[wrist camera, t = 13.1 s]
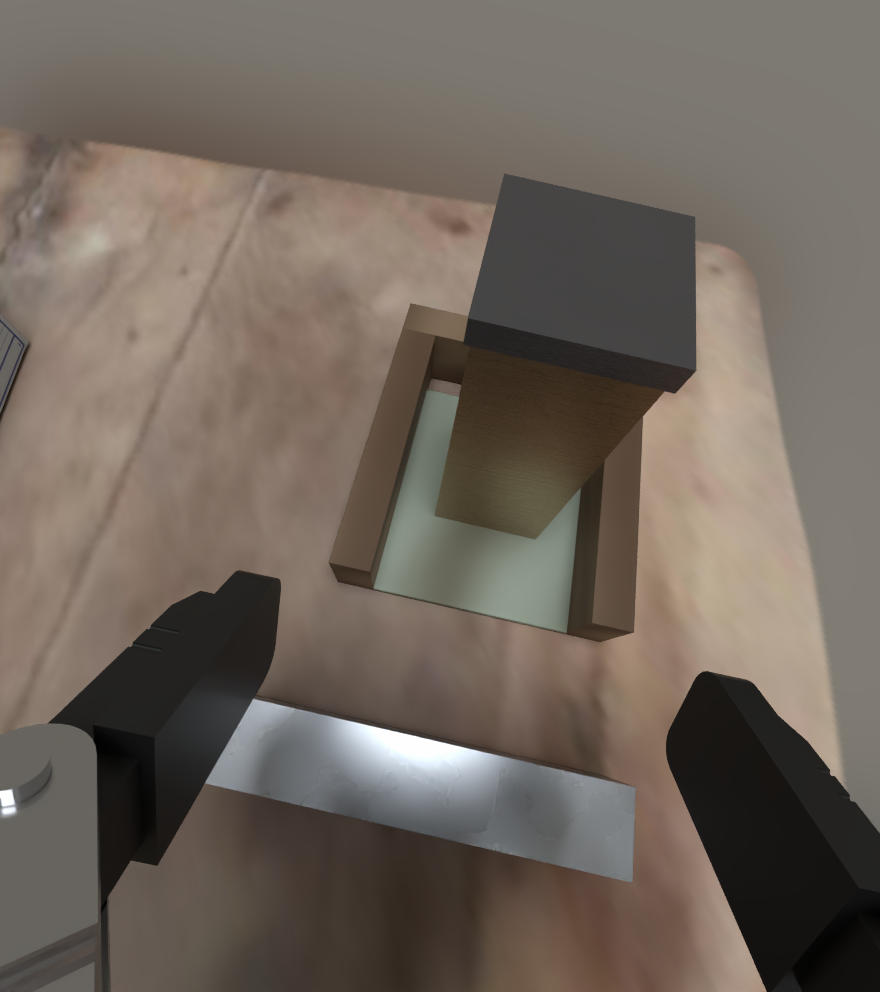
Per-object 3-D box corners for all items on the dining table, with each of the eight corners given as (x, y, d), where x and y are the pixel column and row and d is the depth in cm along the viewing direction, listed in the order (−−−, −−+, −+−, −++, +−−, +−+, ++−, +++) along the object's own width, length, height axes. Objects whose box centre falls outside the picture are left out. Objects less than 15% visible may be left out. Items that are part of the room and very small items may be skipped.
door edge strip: (207, 766, 17) (177, 776, 14) (235, 690, 18) (210, 688, 15) (599, 857, 16) (632, 882, 14) (604, 776, 17) (635, 787, 15)
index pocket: (338, 581, 19) (328, 562, 17) (408, 347, 24) (410, 303, 22) (600, 641, 19) (633, 632, 17) (617, 395, 24) (645, 356, 22)
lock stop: (430, 518, 21) (468, 317, 10) (452, 426, 22) (504, 173, 12) (538, 543, 21) (696, 370, 10) (551, 449, 22) (695, 217, 12)
